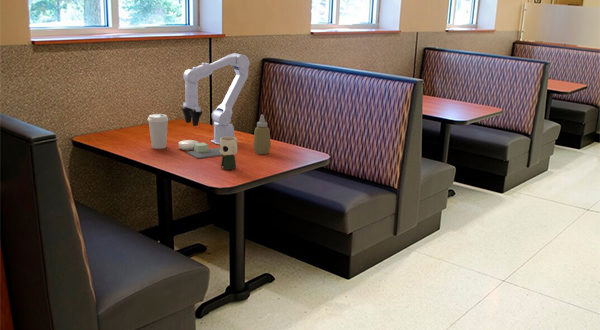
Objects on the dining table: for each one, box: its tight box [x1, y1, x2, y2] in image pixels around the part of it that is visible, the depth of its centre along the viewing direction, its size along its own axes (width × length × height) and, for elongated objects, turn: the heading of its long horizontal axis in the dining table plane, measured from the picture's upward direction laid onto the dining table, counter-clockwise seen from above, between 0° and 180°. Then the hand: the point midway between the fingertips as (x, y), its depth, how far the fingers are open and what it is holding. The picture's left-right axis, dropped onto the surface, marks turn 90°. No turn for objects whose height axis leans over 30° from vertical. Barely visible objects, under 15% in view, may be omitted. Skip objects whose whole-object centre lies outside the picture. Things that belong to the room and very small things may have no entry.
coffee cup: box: [147, 113, 169, 150], centre depth 278 cm, size 10×10×15 cm
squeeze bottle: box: [252, 114, 272, 155], centre depth 273 cm, size 8×8×18 cm
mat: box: [186, 147, 223, 160], centre depth 271 cm, size 16×11×1 cm
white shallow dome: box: [178, 139, 199, 151], centre depth 279 cm, size 9×9×3 cm
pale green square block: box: [193, 142, 209, 152], centre depth 274 cm, size 5×5×3 cm
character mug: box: [219, 136, 238, 170], centre depth 248 cm, size 11×7×13 cm, turn 45°
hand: (191, 124), depth 282 cm, fingers open, 7 cm apart
